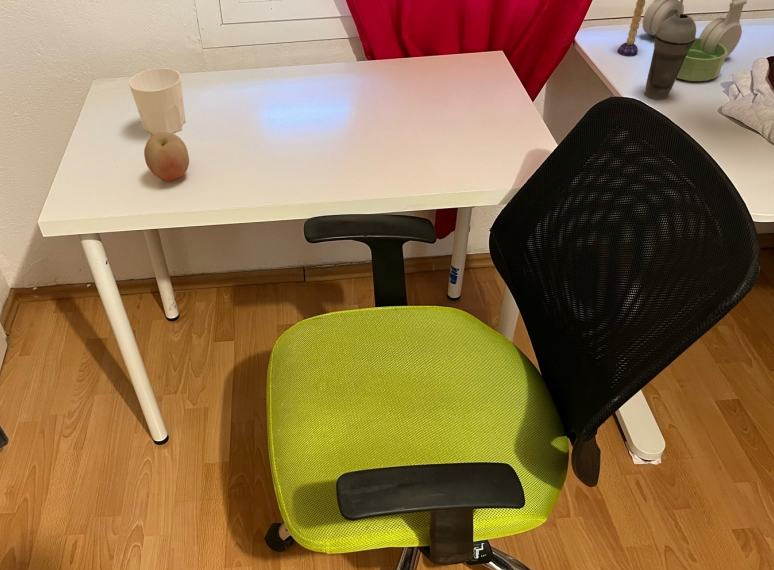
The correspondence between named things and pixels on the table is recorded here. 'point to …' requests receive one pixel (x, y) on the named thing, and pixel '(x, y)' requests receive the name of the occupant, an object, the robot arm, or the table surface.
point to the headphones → (713, 33)
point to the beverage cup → (669, 53)
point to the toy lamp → (632, 32)
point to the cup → (159, 99)
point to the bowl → (702, 63)
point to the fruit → (166, 156)
